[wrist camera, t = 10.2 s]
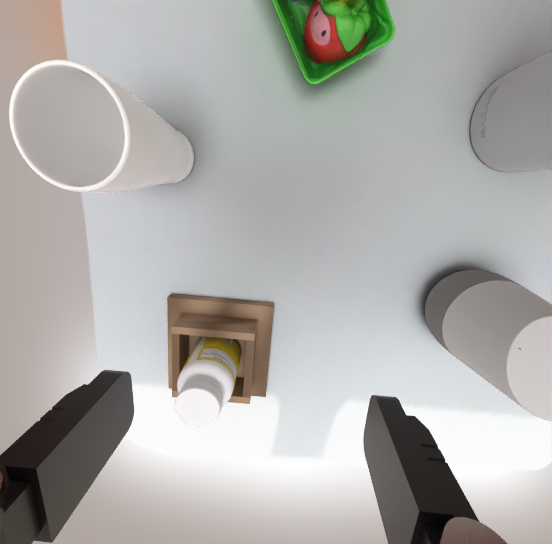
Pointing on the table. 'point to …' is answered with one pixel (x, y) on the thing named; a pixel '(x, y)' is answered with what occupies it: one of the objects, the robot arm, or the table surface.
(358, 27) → the fruit basket
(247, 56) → the table surface
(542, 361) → the smart speaker
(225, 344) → the supplement bottle
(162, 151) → the drinking glass
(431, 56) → the table surface
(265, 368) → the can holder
